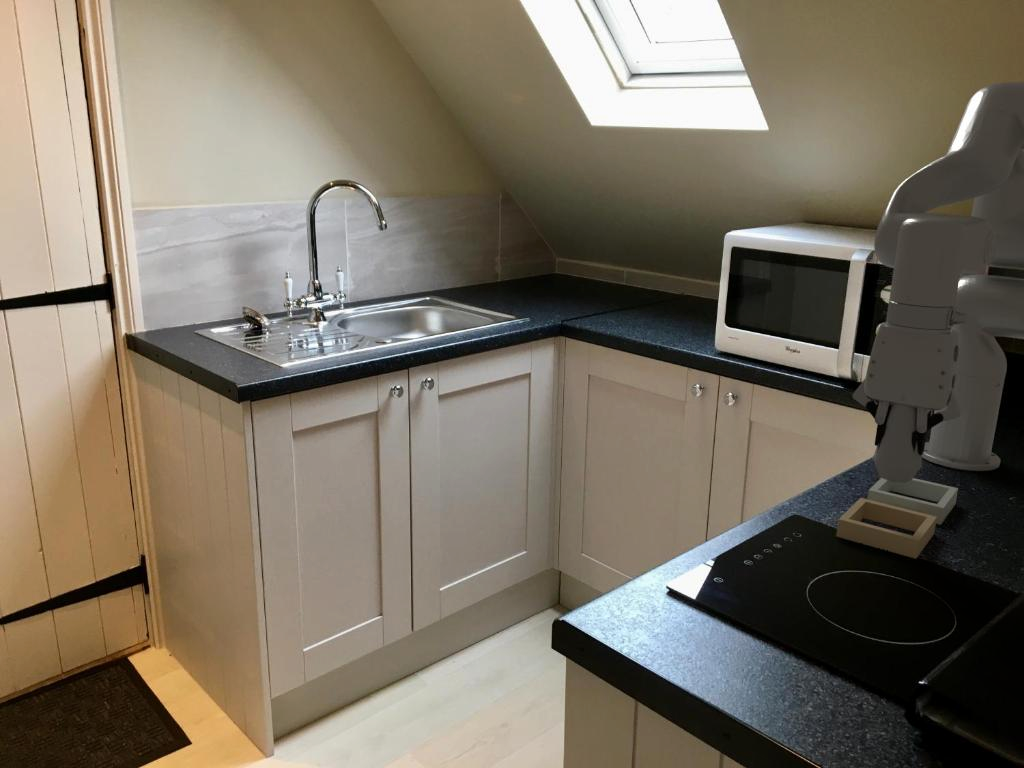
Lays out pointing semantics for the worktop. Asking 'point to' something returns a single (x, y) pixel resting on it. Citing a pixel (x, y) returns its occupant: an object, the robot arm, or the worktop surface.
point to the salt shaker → (898, 446)
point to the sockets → (898, 515)
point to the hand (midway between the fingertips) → (897, 454)
